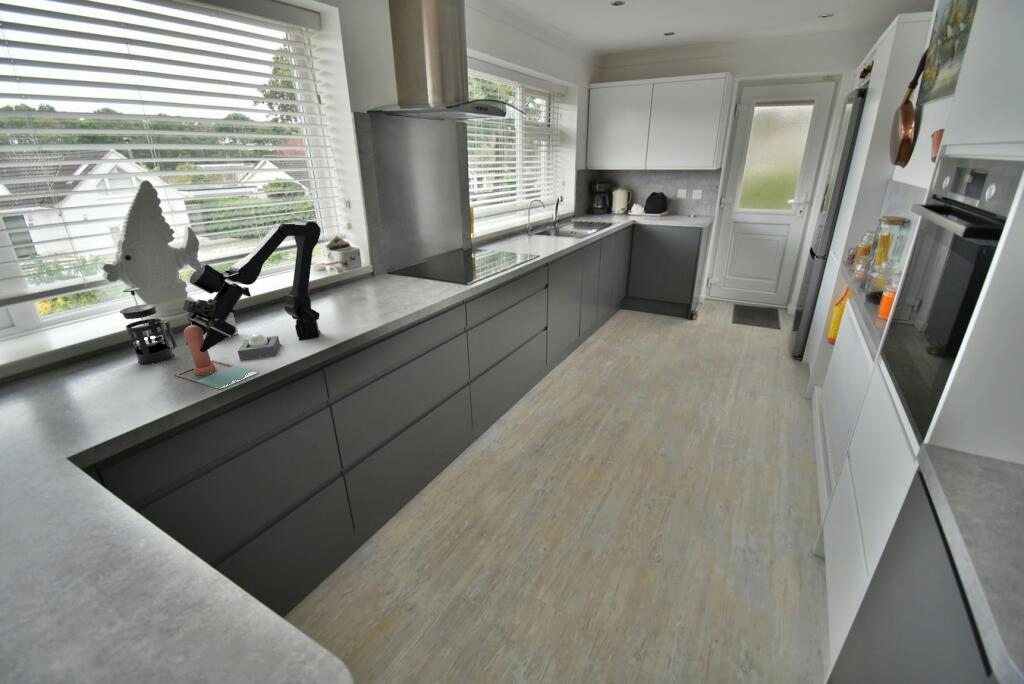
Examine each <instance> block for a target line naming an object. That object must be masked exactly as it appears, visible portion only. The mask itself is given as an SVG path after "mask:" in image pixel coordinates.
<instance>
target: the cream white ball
mask: <svg viewBox="0 0 1024 684" xmlns="http://www.w3.org/2000/svg"><path fill="white" fill-rule="evenodd" d="M266 337H267V336H264V335H262V334H260V333H255V334H252V335H251V337H250V340H249V345H250V347H257V346H264V345H268V341H267V338H266Z"/></svg>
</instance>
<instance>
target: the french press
mask: <svg viewBox="0 0 1024 684" xmlns="http://www.w3.org/2000/svg"><path fill="white" fill-rule="evenodd" d="M140 290H141V288H140V287H130V288H126V289H123V291H122V292H123V293H130V295H131V296H132V297H133V300H134V303H135V305H133V306H129V307H125V308H123V309H120V310H119V313H120V314H122V316H123V317H124V319H126V320H136V319H141V320H137V321H133V322H131V323H129V324H126V325H125V329H126V332H128V335H129V337H130V339H131V342H132V345H133V347H134V350H135V355H136V358H137V363H138V364H139V363H140V364H139V365H141V364H148V365H153V364H152V363H155V364H158V363H157V362H159V363H162V362H161V361H163V362H165V361H164V360H166V361H167V359H168V360H170V359H172V358H173V357H174V356H175V353H174V352H173V349H175V348H176V347H178V345H177V341H176V339H175V337H174V332H173V330H172V327H171V323H170V322H169V320H164V321H163V320H162V319H161V318H148V319H147V317H151V316H153V315H155V314H156V313H158V312H157V309H156V307H157V304H156V303H145V304H139V303H138V302H137V298H136V291H140ZM143 318H146V319H143ZM163 324H165V326H166V329H167V333H168V336H169V338H170V340H171V343H172V345H171V344H170V342H169V340H168V336H167V334H166V331H165V327H164V325H163ZM141 325H143V326H141ZM137 326H141V327H137ZM158 328H159V330H160V332H161V335H160V333H159V331H158ZM149 331H150V332H151V334H152V335H151V336H150V335H149ZM143 332H146V335H147V336H146V337H145V336H144V334H143ZM134 334H135V335H134ZM135 336H136V338H137V339H136V338H135ZM163 342H164V343H163ZM139 347H140V348H139ZM173 355H174V356H173ZM172 356H173V357H172ZM171 357H172V358H171ZM169 358H170V359H169Z"/></svg>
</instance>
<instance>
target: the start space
mask: <svg viewBox="0 0 1024 684" xmlns="http://www.w3.org/2000/svg"><path fill="white" fill-rule="evenodd" d="M211 362H216V363H215V364H218V363H219V364H218V365H222V364H223V365H222V366H225V365H227V366H226V367H228V368H230V367H229V366H231V367H232V366H234V365H233V364H229V363H225V362H221V361H218V360H215V359H212V360H211ZM192 369H193V370H194V368H193V367H191V368H188V369H186V370H183V371H180V372H178V373H175V374H174V376H175V375H176V376H175V377H178V376H179V377H178V378H181V377H182V378H181V379H184V378H185V379H184V380H187V379H189V380H188V381H190V380H192V381H191V382H194V381H196V382H195V383H197V381H198V380H199V379H194V378H191V377H188V376H185V375H182V374H181V373H183V374H185V373H188V372H190V371H193V370H192ZM189 370H190V371H189ZM187 371H188V372H187ZM184 372H185V373H184ZM218 372H219V371H218ZM218 372H216V373H218ZM179 374H180V375H179ZM213 374H214V373H211V375H213ZM208 376H209V375H208ZM208 376H206V377H208ZM203 378H204V377H203ZM203 378H201V379H203Z"/></svg>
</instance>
